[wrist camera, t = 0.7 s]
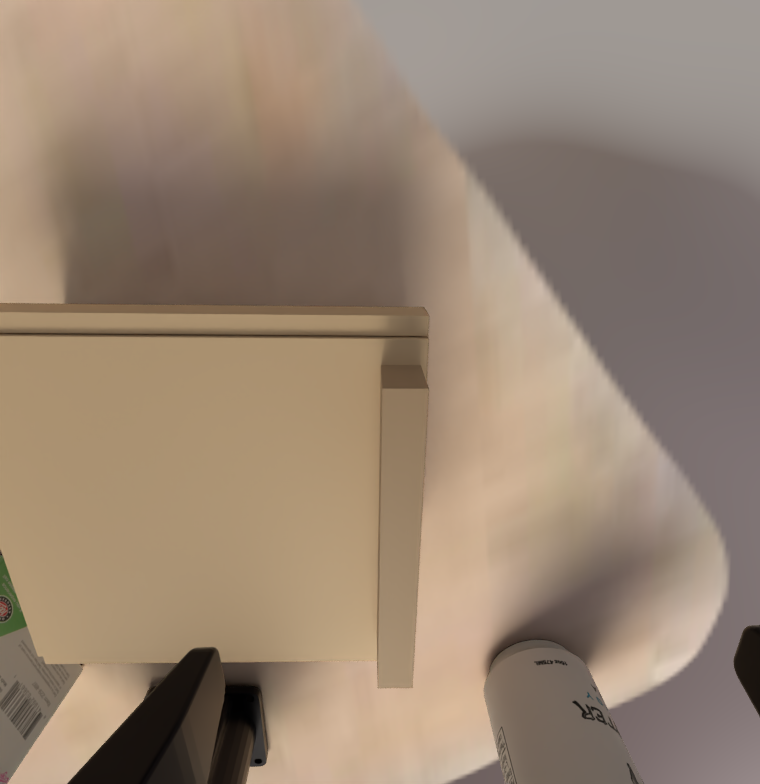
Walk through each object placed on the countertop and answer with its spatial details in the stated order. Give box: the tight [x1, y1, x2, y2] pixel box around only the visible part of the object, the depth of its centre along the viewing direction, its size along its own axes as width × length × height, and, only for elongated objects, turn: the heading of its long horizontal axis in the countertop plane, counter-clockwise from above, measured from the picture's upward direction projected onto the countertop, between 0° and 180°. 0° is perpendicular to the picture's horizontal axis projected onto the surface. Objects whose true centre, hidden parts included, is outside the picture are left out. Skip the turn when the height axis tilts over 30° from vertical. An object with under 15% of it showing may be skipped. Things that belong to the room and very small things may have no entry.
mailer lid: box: [0, 303, 429, 688], centre depth 15 cm, size 14×14×4 cm
